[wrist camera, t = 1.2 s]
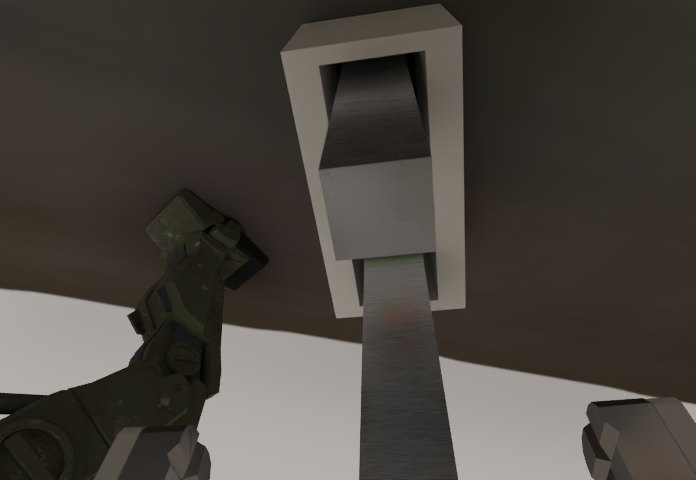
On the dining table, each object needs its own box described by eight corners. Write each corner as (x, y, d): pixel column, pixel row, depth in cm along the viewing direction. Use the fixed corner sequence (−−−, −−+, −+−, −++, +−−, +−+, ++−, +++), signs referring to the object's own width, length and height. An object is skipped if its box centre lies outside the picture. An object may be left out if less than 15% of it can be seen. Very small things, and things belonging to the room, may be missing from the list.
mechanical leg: (302, 281, 47) (92, 611, 19) (255, 316, 49) (14, 647, 22) (205, 175, 44) (-185, 382, 17) (162, 219, 47) (-232, 454, 20)
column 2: (364, 238, 35) (356, 579, 16) (419, 233, 34) (474, 577, 16) (371, 285, 37) (371, 629, 19) (422, 281, 37) (474, 629, 18)
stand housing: (302, 24, 34) (278, 54, 26) (439, 3, 33) (463, 27, 24) (342, 247, 45) (335, 323, 36) (447, 237, 44) (466, 313, 35)
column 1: (346, 47, 35) (317, 169, 17) (400, 39, 35) (432, 156, 16) (354, 106, 37) (337, 270, 19) (405, 99, 37) (437, 261, 19)
